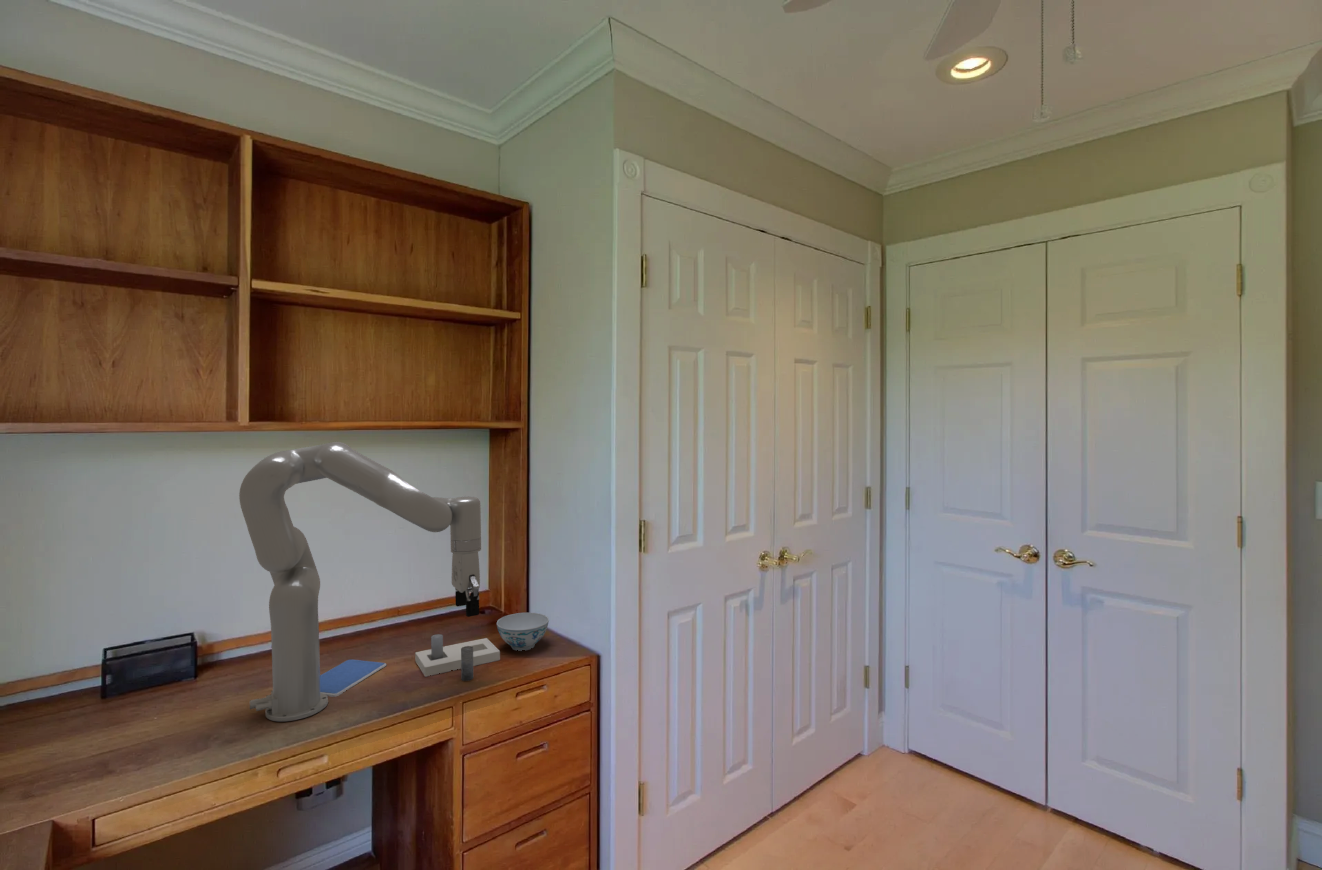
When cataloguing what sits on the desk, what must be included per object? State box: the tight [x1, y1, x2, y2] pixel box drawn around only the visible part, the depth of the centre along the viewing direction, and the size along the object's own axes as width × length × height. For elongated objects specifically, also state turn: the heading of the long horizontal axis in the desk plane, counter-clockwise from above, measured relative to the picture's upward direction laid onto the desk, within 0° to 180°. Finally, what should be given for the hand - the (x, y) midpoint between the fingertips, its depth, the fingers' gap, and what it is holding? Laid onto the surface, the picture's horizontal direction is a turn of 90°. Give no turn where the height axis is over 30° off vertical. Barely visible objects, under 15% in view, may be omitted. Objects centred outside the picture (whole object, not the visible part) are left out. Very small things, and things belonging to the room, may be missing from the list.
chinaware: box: [496, 612, 550, 652], centre depth 183 cm, size 15×15×8 cm
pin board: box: [414, 633, 501, 678], centre depth 173 cm, size 20×12×8 cm, turn 123°
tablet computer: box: [320, 659, 387, 698], centre depth 162 cm, size 19×13×1 cm, turn 167°
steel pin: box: [460, 646, 474, 682], centre depth 161 cm, size 3×3×8 cm
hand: (467, 610), depth 161 cm, fingers open, 9 cm apart
